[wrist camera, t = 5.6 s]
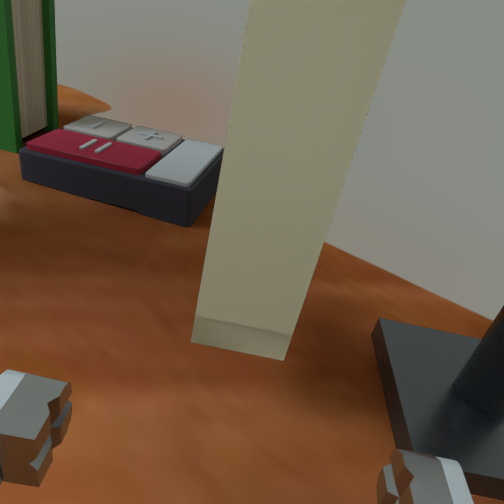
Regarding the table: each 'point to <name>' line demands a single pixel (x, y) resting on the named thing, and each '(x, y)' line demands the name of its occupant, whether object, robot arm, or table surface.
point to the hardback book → (27, 70)
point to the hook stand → (447, 396)
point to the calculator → (126, 167)
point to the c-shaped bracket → (286, 162)
